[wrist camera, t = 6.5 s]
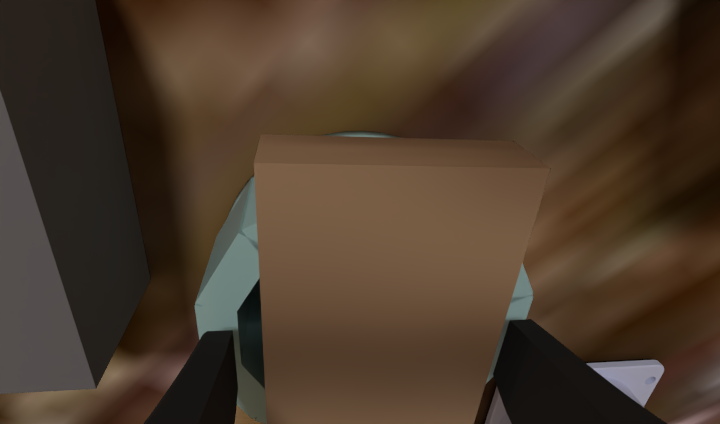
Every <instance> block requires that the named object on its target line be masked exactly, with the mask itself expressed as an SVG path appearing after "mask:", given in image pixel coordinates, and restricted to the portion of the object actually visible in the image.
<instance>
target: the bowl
mask: <svg viewBox="0 0 720 424" xmlns="http://www.w3.org/2000/svg"><path fill="white" fill-rule="evenodd" d="M322 136H351V137H386V138H402V137H399V136H394V135H390V134H386V133H381V132H370V131H344V132H338V133H331V134H325V135H322ZM532 294H533V291H532V288H531V286H530V283H529V280H528V277H527V274H526V272H525V269H524V266H523V263H522V266H521V269H520V272H519V276H518V279H517V282H516V286H515V289H514V292H513V296H512V299H511V302H510V306H509V309H508V312H507V315H506V319H505V322H504V325H503V329H502V332H501V335H500V339H499V342H498V345H497V349H496V352H495V355H494V359H493V362H492V365H491V368H490V372H489V375H488V378H487V382H488V381H489V380H490V379H491V378H492V377H494V375H493V373H494V369H495V366H496V363H497V360H498V356H499V353H500V350H501V347H502V343H503V340H504V337H505V334H506V330H507V327H508V324H509V321H510V320H526V317H527V314H528V311H529V308H530V305H531V302H532V299H533V296H532ZM195 313H196V320H197V327H198V334H199V340H200V339H201V337H202V335H203V334H204V333H205V332H207V331H226V330H233V338H234V349H235V360H236V370H237V381H238V395H237V405H238V406H239V407H240V408H241V409H242V410H243V411H244V412H245V413H246V414H247V415H248V416H249V417H250V418H251V419H253V418H255V421H258V422H261V423H265V424H267V418H266V397H265V377H264V357H263V337H262V317H261V297H260V277H259V257H258V237H257V217H256V197H255V177H254V175H253V176H252V177H251V178H250V179H249V180H248V181H247V182H246V184H245V185H244V187H243V188H242V190H241V191H240V192H239V194H238V195H237V197H236V199H235V201H234V203H233V205H232V207H231V209H230V212H229V215H228V218H227V220H226V221H225V223H224V225H223V226H222V228H221V230H220V231H219V233H218V235H217V237H216V240H215V244H214V247H213V250H212V253H211V256H210V259H209V262H208V265H207V268H206V271H205V274H204V277H203V281H202V284H201V287H200V290H199V293H198V296H197V299H196V302H195ZM487 382H486V383H487Z"/></svg>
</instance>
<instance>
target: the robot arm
mask: <svg viewBox="0 0 720 424" xmlns="http://www.w3.org/2000/svg"><path fill="white" fill-rule="evenodd" d="M663 372H664V366H663V365H662V364H661V363H660V362H659V361H657V360H636V361H618V362H599V363H585V362H584V361H582V360H581V359H580V358H579V357H577V356H576V355H575V354H574V353H573V352H571V351H570V350H569V349H568V348H566V347H565V346H564V345H563V344H561V343H560V342H559V341H558V340H557V339H555V338H554V337H553V336H552V335H550V334H549V333H548V332H547V331H545V330H544V329H543V328H542V327H540V326H539V325H538V324H536V323H535V322H534V321H532V320H531V319H528V320H510V321H509V324H508V327H507V330H506V334H505V337H504V340H503V343H502V347H501V350H500V353H499V356H498V360H497V363H496V366H495V369H494V373H493V375H494V379H495V382H496V385H497V387H496V390H495V393H494V396H493V400H492V403H491V406H490V409H489V412H488V415H487V418H486V421H485V424H667V423H665V422H664V421H662V420H661V419H659V418H658V417H656V416H655V415H653V414H652V413H651V412H649V411H648V410H647V409H645V408H644V405H645V404H646V402H647V400H648V398H649V397H650V395H651V393H652V391H653V390H654V388H655V386H656V384H657V383H658V381H659V379H660V377H661V376H662V374H663ZM237 395H238V381H237V370H236V360H235V349H234V338H233V330H226V331H207V332H205V333H204V334H203V335H202V337H201V339H200V340H199V342H198V344H197V346H196V347H195V349H194V351H193V352H192V354H191V356H190V357H189V359H188V360H187V362H186V364H185V365H184V367H183V368H182V370H181V371H180V373H179V374H178V376H177V378H176V379H175V381H174V382H173V383H172V385H171V386H170V388H169V389H168V391H167V392H166V393H165V395H164V396H163V398H162V399H161V401H160V402H159V404H158V405H157V406H156V408H155V409H154V411H153V412H152V413H151V415H150V416H149V417H148V419H147V420H146V421H145V422H144V424H234V423H235V414H236V405H237Z"/></svg>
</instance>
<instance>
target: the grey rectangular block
mask: <svg viewBox="0 0 720 424" xmlns="http://www.w3.org/2000/svg"><path fill="white" fill-rule="evenodd" d="M150 280H151V279H150V274H149V269H148V264H147V259H146V254H145V249H144V243H143V238H142V233H141V228H140V223H139V218H138V213H137V208H136V203H135V198H134V193H133V188H132V183H131V178H130V173H129V168H128V163H127V158H126V153H125V148H124V143H123V138H122V133H121V128H120V123H119V118H118V112H117V107H116V102H115V97H114V92H113V87H112V82H111V77H110V72H109V67H108V62H107V57H106V52H105V47H104V42H103V37H102V32H101V27H100V22H99V17H98V12H97V7H96V2H95V0H0V394H5V393H24V392H42V391H61V390H80V389H96V388H97V386H98V384H99V382H100V380H101V378H102V376H103V374H104V372H105V370H106V368H107V366H108V364H109V362H110V360H111V358H112V356H113V354H114V352H115V350H116V348H117V346H118V344H119V342H120V340H121V338H122V336H123V334H124V332H125V330H126V328H127V326H128V324H129V322H130V320H131V318H132V316H133V314H134V312H135V310H136V308H137V306H138V304H139V302H140V300H141V298H142V296H143V294H144V292H145V290H146V288H147V286H148V284H149V282H150Z"/></svg>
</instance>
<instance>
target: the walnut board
mask: <svg viewBox="0 0 720 424" xmlns="http://www.w3.org/2000/svg"><path fill="white" fill-rule="evenodd" d="M550 170H551V168H549V167H548V166H547V165H545V164H544V163H543V162H541V161H540V160H539V159H537V158H536V157H534V156H533V155H532V154H530V153H529V152H528V151H526V150H525V149H524V148H522V147H521V146H519V145H518V144H517V143H515V142H514V141H491V140H456V139H421V138H386V137H351V136H316V135H281V134H261V136H260V140H259V144H258V148H257V152H256V156H255V160H254V177H255V197H256V217H257V237H258V257H259V277H260V297H261V317H262V337H263V357H264V377H265V397H266V418H267V424H474V421H475V418H476V415H477V411H478V408H479V405H480V402H481V398H482V395H483V392H484V388H485V385H486V382H487V378H488V375H489V372H490V368H491V365H492V362H493V359H494V355H495V352H496V349H497V345H498V342H499V339H500V335H501V332H502V329H503V325H504V322H505V319H506V315H507V312H508V309H509V306H510V302H511V299H512V296H513V292H514V289H515V286H516V282H517V279H518V276H519V272H520V269H521V266H522V262H523V259H524V256H525V253H526V249H527V246H528V243H529V239H530V236H531V233H532V229H533V226H534V223H535V219H536V216H537V213H538V210H539V206H540V203H541V200H542V196H543V193H544V190H545V186H546V183H547V180H548V176H549V173H550Z"/></svg>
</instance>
